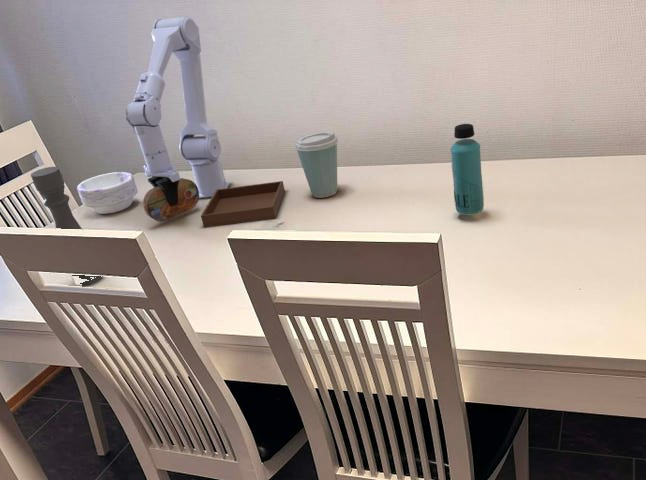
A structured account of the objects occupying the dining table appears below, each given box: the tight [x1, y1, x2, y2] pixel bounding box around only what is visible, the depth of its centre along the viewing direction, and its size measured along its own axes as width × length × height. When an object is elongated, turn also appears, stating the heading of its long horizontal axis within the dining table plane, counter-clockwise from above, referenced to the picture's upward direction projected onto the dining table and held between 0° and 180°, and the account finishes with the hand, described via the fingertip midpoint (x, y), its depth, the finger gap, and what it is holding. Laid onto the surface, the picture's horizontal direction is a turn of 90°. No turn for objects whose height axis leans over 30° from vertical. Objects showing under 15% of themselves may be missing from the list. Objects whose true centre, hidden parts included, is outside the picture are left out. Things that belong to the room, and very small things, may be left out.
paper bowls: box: [76, 171, 139, 215], centre depth 195 cm, size 15×15×8 cm
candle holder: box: [30, 166, 103, 287], centre depth 151 cm, size 6×6×25 cm
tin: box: [142, 177, 200, 223], centre depth 180 cm, size 15×3×8 cm, turn 133°
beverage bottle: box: [450, 123, 485, 215], centre depth 151 cm, size 6×7×20 cm
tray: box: [200, 180, 286, 228], centre depth 180 cm, size 18×18×3 cm
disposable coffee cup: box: [295, 130, 339, 199], centre depth 178 cm, size 11×11×15 cm
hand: (171, 203), depth 180 cm, fingers closed on tin, 2 cm apart
